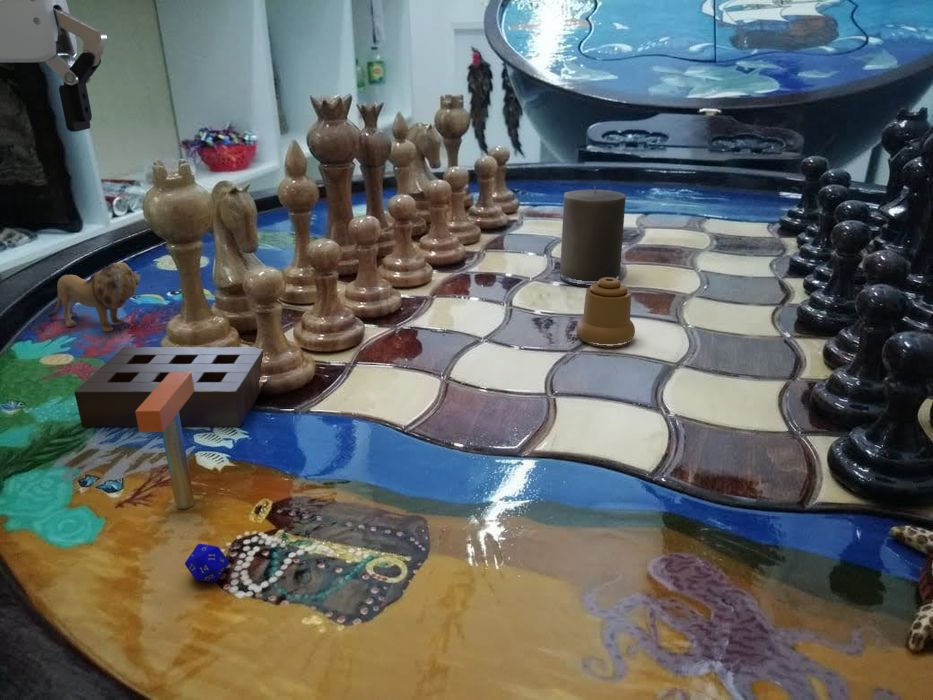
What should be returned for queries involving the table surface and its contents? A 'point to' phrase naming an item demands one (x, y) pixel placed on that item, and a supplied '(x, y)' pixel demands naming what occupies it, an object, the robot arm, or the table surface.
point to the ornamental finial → (606, 314)
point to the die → (206, 563)
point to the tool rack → (143, 368)
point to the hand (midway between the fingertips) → (27, 129)
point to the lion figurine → (97, 293)
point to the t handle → (170, 429)
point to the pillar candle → (592, 235)
